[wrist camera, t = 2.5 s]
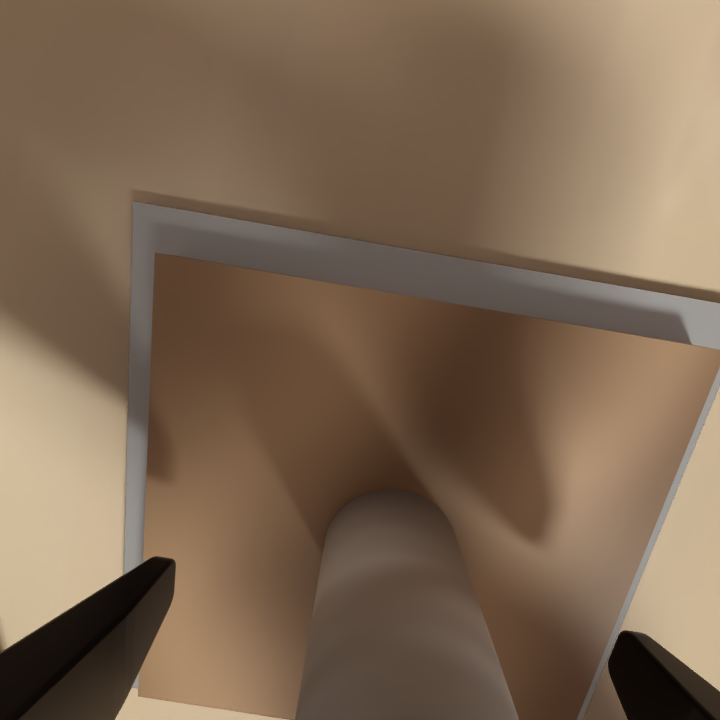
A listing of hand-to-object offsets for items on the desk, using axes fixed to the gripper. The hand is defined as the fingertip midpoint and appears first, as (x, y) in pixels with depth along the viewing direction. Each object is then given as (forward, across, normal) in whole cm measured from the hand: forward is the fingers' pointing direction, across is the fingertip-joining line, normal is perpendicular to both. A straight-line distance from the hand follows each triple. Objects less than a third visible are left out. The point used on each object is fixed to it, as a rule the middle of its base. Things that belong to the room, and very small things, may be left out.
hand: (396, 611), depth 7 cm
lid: (+2, 0, 0) cm, 2 cm away
